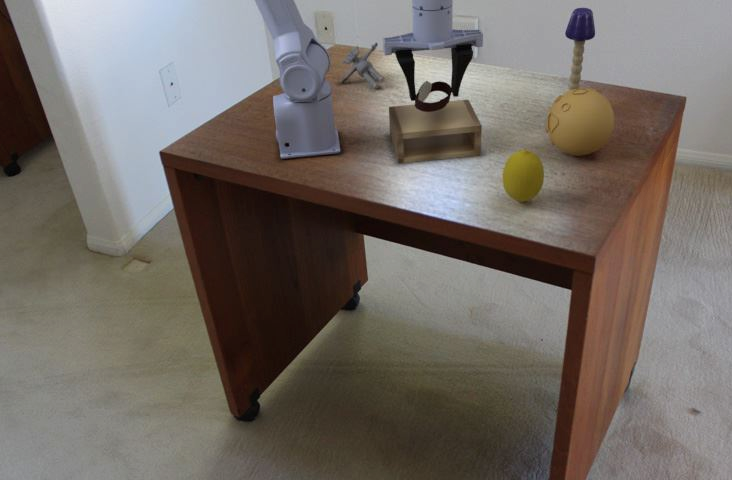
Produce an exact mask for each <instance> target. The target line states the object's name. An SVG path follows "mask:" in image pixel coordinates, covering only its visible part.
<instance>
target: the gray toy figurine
mask: <svg viewBox="0 0 732 480" xmlns="http://www.w3.org/2000/svg"><path fill="white" fill-rule="evenodd" d="M378 44H379V43H378V42H375V43H374V44H371V48H369V50H368V51H366V52H365V53H364V54H363V55H361V56H360V57H358V56H359V55H360V49H359V45H357V46H355V47H353V49H352V50H350V51H348V53H347V56H346V57H345V58H344V59H343V60H342V64H347V65H350V64H352V63H353V64H352V65H351V68H350V69H349V71H348V72H347V74H346V75H345V76H344V77H341V80H340V84H344V83H345V82H347V81H348V79H349V78H350V77H351V76H352V75H353V74H354V73H355V72H357V74H358V75H359V77H361V78H364V79H365V80H366V81H367V82H368V83H369V84H370V85H371V86H372V87H373V88H374V90H378V89H379V88H380V85H379V83H378V82H377V81H376V80H378V81H379V82H380V83H384V82H385V80H386V79H385V77H384V76H383V75H382V74H381V73H380V72H378V70H376V68H374V65H373V63H372V62H371V61H369V60H368V58H369V57H370V56H371V54H372V53H373V52H374V51H375V50H376V49H377V47H378V46H379V45H378Z"/></svg>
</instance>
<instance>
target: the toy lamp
mask: <svg viewBox="0 0 732 480" xmlns="http://www.w3.org/2000/svg"><path fill="white" fill-rule="evenodd" d="M564 36H565V37H566V38H567V39H569V40H572V41H573V44H574V47H573V49H572V52H573V55H572V58H571V62H572V65H571V67H570V75H569V81H570V82H569V83H568V91H570V90H573V89H578V88H581V87H580V86H581V85H580V81H581V79H582V75H581V73H582V70H583V65H582V64H583V62H584V56H583V55H584V53H585V44H586V41H590V40H593V38H595V36H596V25H595V19H594V13H593V10H592V9H591V8H589V7H577V8H575V9H573V11H572V13H571V15H570V17H569V21H568V24H567V26H566V29H565V35H564Z"/></svg>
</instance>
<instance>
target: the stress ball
mask: <svg viewBox="0 0 732 480" xmlns="http://www.w3.org/2000/svg"><path fill="white" fill-rule="evenodd" d="M544 126H545V132H546V134H547V135H548V137H549V139H548V140H549V142H550V143H551V144H552V146H555V148H557V149H558V150H559V151H561V152H563V153H565V154H567V155H570V156H575V157H576V156H577V157H578V156H587V155H591V154H593V153H595V152H597V151H598V150H600V149H601V148H602V147H604V145H606V144H607V142H608V141H609V140H610V137H611V136H612V134H613V132H614V126H615V114H614V110H613V107H612V105H611V103H610V102H609V100H608V99H607V97H605V96H604V95H603V94H601V91H600V90H598V89H597V88H594V87H590V86H587V87H586V88H584V87H579V88H578V89H573V90H570V91H569V90H568V91H566V92H564V93H563V94H560V95H559V96H558V97H556V98H555V100H554V101H553V103H552V104H551V106H550V108H549V110H548V113H547V116H546V122H545V125H544Z"/></svg>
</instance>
